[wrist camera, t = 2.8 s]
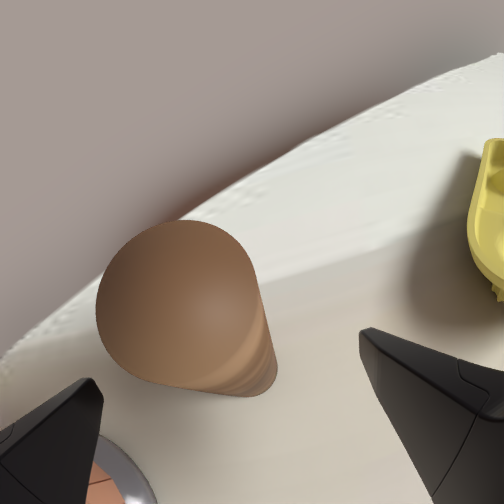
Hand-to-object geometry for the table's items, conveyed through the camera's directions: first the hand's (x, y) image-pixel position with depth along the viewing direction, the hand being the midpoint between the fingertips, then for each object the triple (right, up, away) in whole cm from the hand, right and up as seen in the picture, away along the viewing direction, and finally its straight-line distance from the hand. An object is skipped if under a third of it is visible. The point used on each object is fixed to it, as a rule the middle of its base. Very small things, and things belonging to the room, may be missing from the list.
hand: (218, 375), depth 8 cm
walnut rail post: (+1, -3, +8) cm, 9 cm away
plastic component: (+24, +5, +10) cm, 26 cm away
